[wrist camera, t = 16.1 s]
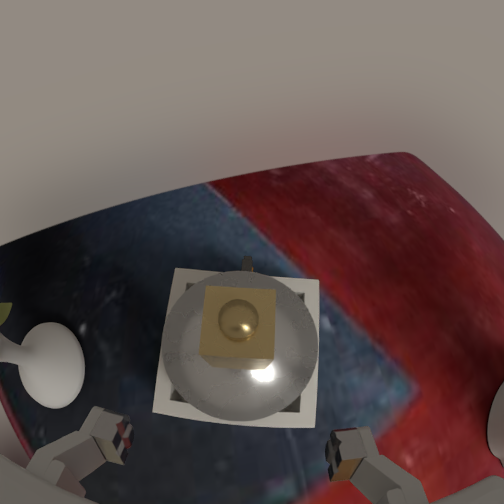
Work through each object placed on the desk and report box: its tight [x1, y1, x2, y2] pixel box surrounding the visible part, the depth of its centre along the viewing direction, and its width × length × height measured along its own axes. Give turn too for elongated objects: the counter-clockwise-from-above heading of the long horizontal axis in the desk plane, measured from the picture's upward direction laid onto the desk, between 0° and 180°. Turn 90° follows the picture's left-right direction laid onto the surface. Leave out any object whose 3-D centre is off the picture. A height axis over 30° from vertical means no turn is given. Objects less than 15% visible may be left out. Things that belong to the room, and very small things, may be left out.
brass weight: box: [199, 285, 276, 370], centre depth 21 cm, size 4×4×9 cm
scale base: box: [153, 268, 319, 428], centre depth 29 cm, size 15×15×6 cm
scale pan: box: [161, 256, 318, 422], centre depth 28 cm, size 14×16×6 cm
